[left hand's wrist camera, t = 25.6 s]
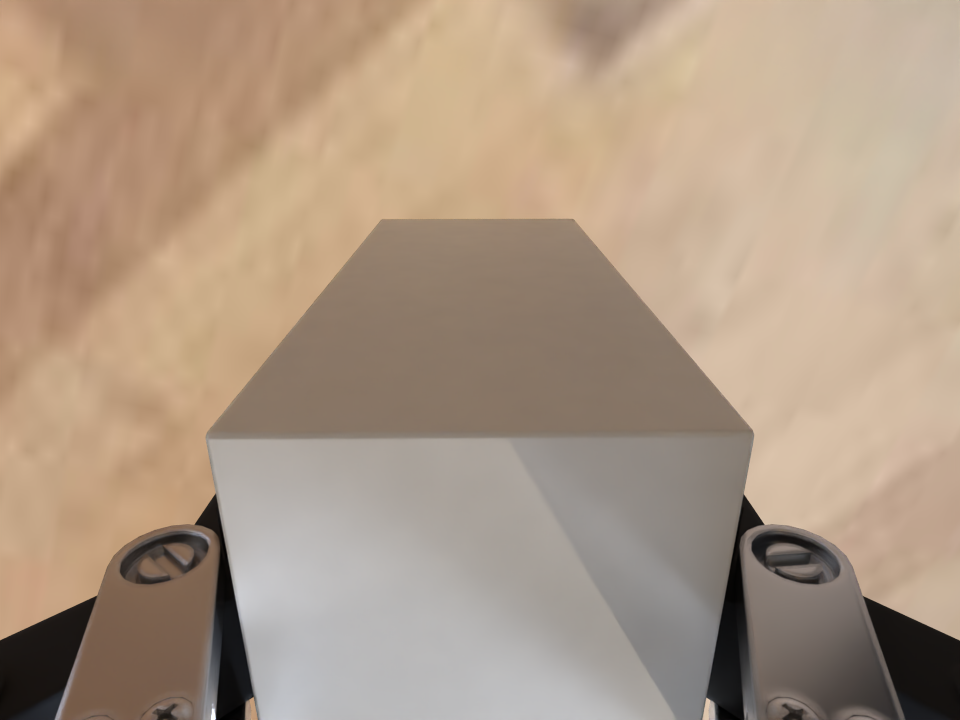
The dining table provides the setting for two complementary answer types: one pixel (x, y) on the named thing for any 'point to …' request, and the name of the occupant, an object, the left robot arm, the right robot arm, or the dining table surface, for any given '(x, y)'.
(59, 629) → the left robot arm
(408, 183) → the dining table surface
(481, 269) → the block
